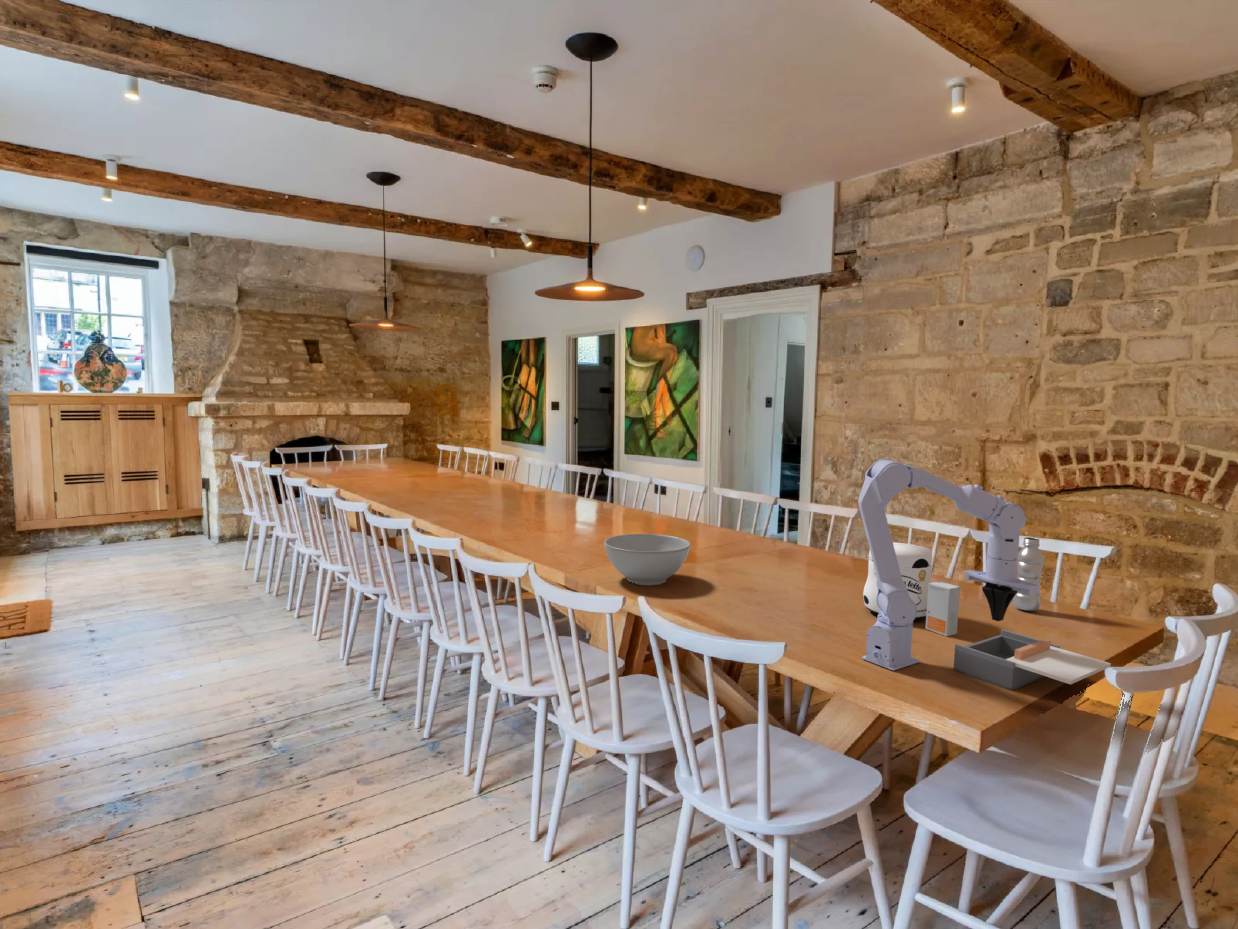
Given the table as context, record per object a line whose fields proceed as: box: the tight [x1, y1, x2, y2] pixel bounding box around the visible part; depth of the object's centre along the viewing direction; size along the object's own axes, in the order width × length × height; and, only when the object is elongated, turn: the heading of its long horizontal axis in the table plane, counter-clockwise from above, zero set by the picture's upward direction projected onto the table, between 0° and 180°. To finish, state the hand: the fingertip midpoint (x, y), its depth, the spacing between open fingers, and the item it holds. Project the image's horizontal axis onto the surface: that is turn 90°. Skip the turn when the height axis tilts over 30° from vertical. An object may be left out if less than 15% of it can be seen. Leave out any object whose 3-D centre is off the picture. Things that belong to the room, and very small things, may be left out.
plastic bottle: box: [1012, 537, 1045, 612], centre depth 187 cm, size 6×7×20 cm
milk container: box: [862, 542, 933, 620], centre depth 181 cm, size 17×17×18 cm
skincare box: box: [925, 580, 961, 637], centre depth 168 cm, size 6×4×12 cm
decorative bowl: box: [603, 533, 692, 586], centre depth 211 cm, size 27×27×12 cm
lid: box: [1006, 638, 1112, 685], centre depth 136 cm, size 17×12×2 cm
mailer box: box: [953, 629, 1061, 692], centre depth 144 cm, size 19×12×6 cm, turn 123°
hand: (997, 619), depth 145 cm, fingers closed
